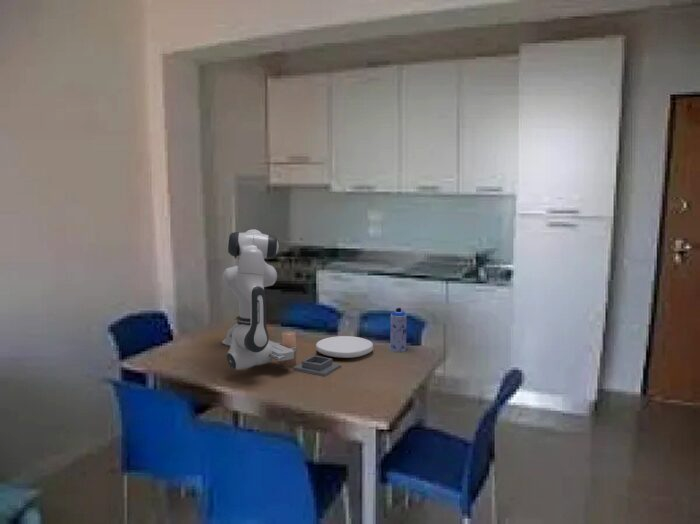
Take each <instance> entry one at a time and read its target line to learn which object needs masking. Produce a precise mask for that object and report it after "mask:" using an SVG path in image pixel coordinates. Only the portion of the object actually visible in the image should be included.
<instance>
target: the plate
mask: <svg viewBox="0 0 700 524" xmlns="http://www.w3.org/2000/svg"><path fill="white" fill-rule="evenodd" d="M315 350H316V351H317V352H318V353H319V354H322V355H324V356H327V357H333V358H342V359H343V358H345V359H347V358H351V359H352V358H358V357H362V356H365V355H367V354H369V353H371V352H373V350H374V343H373V342H372V341H370V340H369V339H366V338H364V337H358V336H352V335H341V336H339V335H338V336H331V337H330V336H329V337H326V338H323V339H321V340H318V341H317V342H316V343H315Z"/></svg>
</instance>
